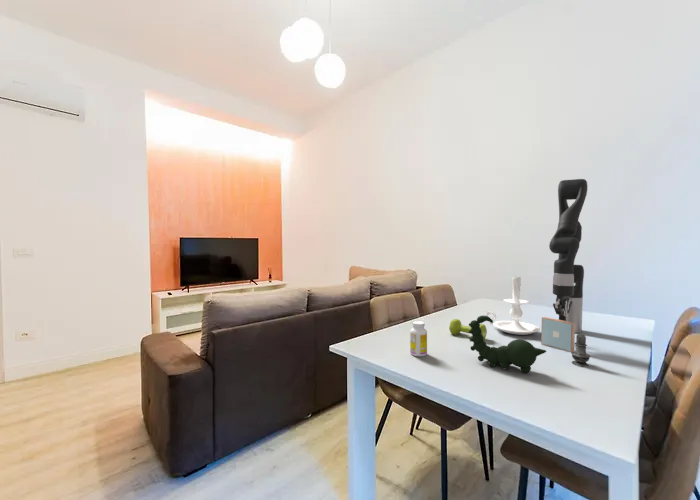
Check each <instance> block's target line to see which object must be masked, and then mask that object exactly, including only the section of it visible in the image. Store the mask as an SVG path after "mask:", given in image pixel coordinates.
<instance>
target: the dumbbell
mask: <svg viewBox="0 0 700 500" xmlns="http://www.w3.org/2000/svg"><path fill="white" fill-rule="evenodd" d="M480 328H481V331H482V333H481V334H482V336H483V338H484V340H486V338H487V334H488V331H487V330H488V329H487V326H486V325H485V324H483V323H480ZM448 329H449V332H450V334H451V335H453V336H457V335H459V334H461V332H463V333H465V334H470V335H472V334H471V333H469V330H471V327H470V326H469V325H464V324H463V325H462V321H461V320H460V319H458V318H453V319H452V320H451V321H450V323H449V328H448Z"/></svg>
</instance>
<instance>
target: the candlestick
mask: <svg viewBox="0 0 700 500" xmlns="http://www.w3.org/2000/svg"><path fill="white" fill-rule="evenodd" d="M521 280H522V277H521V276H519V277H518V276H516V275H515V277H511V281H512V283H511V285H512V296H511V297H512V298H505V299H503V302H506V303H509V304H510V305H511V308H510V310H509V315H510V317H511V318H512V319H513V320H498V321H497V320H496V318H497V316H496V314H495V312H493V311H489V310H486V311H485V312H486V316H488V317H489V314H492V315H493V318H491V319H492V320H493V323H491V322H489V324H490V325H492V326H494V327H495V328H497V329H498V330H500V331H502V332H504V333H507V334H511V335H518V336H519V335H520V336H521V335H523V336H524V335H525V336H526V335H531V334H534V333H536V332H539V331H541V327H539V326H537V325H535V324H532V323H528V322H523V321H519V320H520V319H521V318H523V314H524V313H523V310H522V308H521V305H526V304H529V303H530V301H528V300H526V299H521V298H520V297H521V296H520V295H521V286H522V284H521V282H522V281H521ZM495 320H496V321H495Z"/></svg>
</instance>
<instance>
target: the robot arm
mask: <svg viewBox="0 0 700 500" xmlns="http://www.w3.org/2000/svg"><path fill="white" fill-rule="evenodd" d="M557 193H558V194H557V197H558V213H559V214H558V216H559V217H558V225H557V229H556V230H555V233H554V235H553V236H552V238H551V239H550V242H549V245H548V246H549V250H550V251H551V253H553V254H558V258H557V259H556V260H554V262H553V276H552V294H553V295H554V296H555V295H556V297H555V298H556V299H555V303H552V307H553V309H554V312H555V314H556V315H558V320H564V321H569V322H574V323H575V334H580V333H581V332H582V333H583V299H584V298H583V297H584V292H583V288H584V279H585V278H584V277H585V270H584V266H583V265H582V264H575V260H576V256H577V254H578V252H579V249H580V243H581V241H582V230H583V228H582V224H581V222H580V221H579V219H580V214H581V212H582V209H583V207H584V205H585V204H584V203H585V201H586V197H587V195H588V181H587V180H586V179H585V178H576V179H575V178H574V179H563V180H562V179H561V180H560V181H559V184H558V187H557ZM569 200H570V201H571V200H575V201H574V202H572V204H571V205H570V206H569V204H568V201H569Z"/></svg>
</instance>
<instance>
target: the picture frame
mask: <svg viewBox="0 0 700 500" xmlns="http://www.w3.org/2000/svg"><path fill="white" fill-rule="evenodd" d="M540 331H541V338H540V339H541V340H540V341H541V342H540V345H542V346H546V347H550V348H553V349H558V350H562V351H565V352H569V353H571V352H575V343H576V342H575V338H576V337H575V336H576V335H575V334H576V333H575V323H574V322H569V321H564V320H559V318H552V317H547V316H542V317H541V328H540Z"/></svg>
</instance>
